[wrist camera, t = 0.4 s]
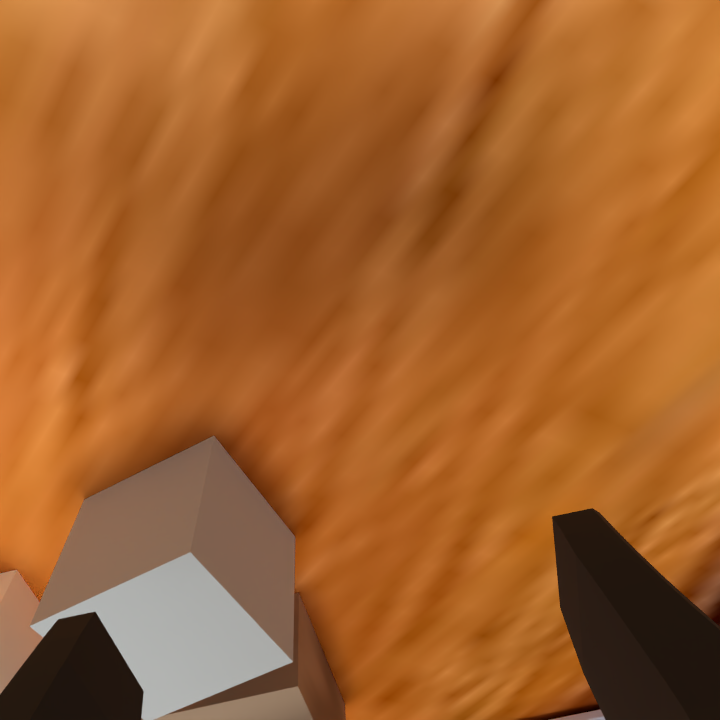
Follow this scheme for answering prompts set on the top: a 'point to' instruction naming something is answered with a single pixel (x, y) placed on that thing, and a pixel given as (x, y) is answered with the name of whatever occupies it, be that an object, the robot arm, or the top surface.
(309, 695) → the walnut slab
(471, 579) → the top surface
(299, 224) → the top surface
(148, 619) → the slate cube
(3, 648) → the cream cube
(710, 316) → the top surface
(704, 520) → the top surface
